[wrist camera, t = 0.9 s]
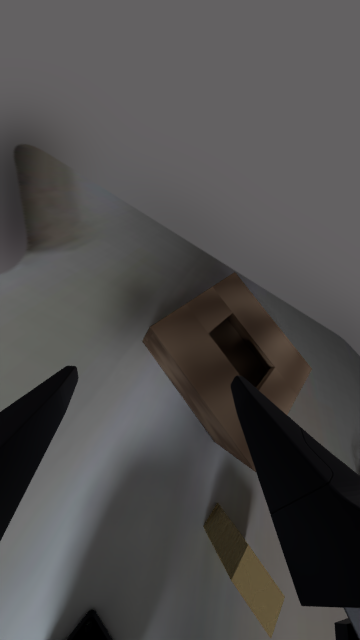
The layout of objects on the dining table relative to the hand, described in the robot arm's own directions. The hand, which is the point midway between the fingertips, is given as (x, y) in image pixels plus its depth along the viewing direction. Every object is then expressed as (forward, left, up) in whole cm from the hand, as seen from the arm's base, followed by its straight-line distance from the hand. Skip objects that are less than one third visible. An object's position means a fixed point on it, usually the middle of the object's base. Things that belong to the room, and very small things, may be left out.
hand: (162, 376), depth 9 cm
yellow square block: (-19, +2, -12) cm, 23 cm away
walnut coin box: (-4, -10, -12) cm, 16 cm away
